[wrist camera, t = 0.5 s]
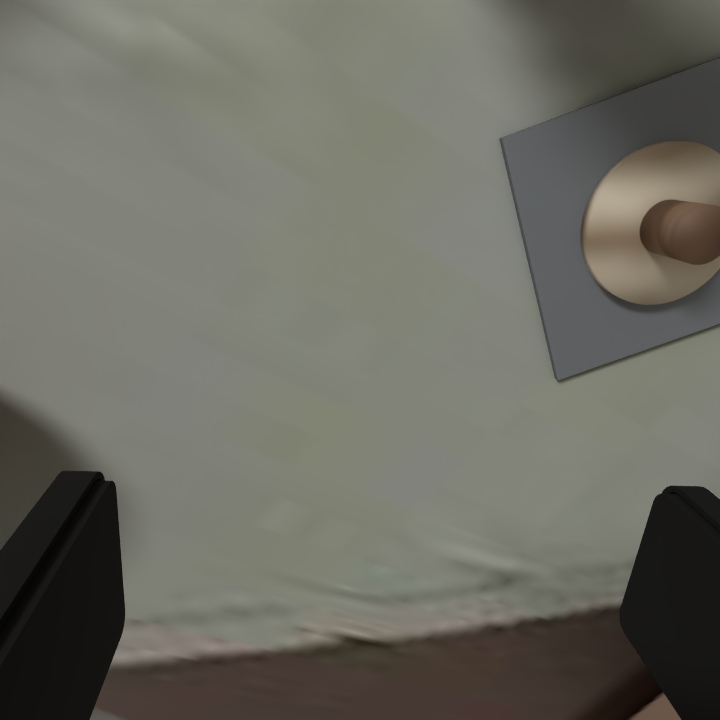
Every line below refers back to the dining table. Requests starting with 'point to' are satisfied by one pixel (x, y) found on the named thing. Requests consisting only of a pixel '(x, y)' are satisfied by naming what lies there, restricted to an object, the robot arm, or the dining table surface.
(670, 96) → the mat
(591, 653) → the dining table surface
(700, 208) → the lid
